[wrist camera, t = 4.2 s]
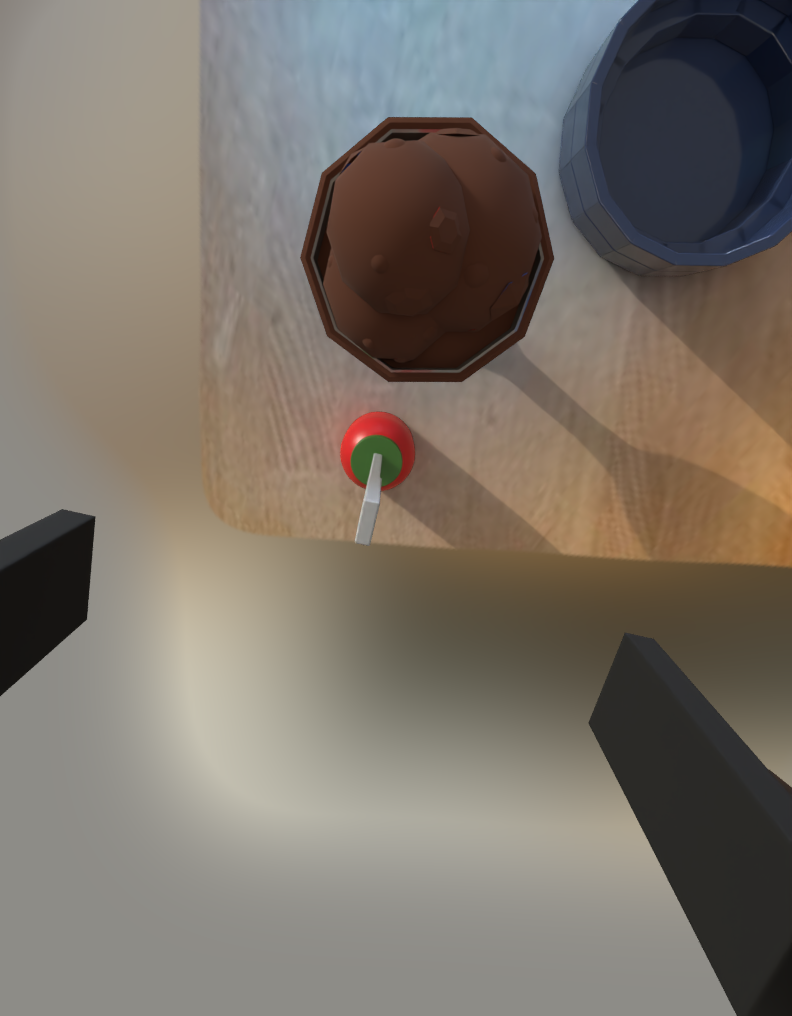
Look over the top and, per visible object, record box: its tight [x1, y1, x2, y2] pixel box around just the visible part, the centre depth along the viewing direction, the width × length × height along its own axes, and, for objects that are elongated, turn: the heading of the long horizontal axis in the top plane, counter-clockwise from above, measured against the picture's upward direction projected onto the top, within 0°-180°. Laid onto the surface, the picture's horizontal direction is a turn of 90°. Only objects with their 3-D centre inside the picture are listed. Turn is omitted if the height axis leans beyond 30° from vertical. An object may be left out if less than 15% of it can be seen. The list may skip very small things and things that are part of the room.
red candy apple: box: [340, 412, 415, 546], centre depth 28 cm, size 5×5×16 cm
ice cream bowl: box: [300, 117, 554, 382], centre depth 26 cm, size 11×11×15 cm
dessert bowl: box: [559, 0, 792, 276], centre depth 29 cm, size 13×13×5 cm
